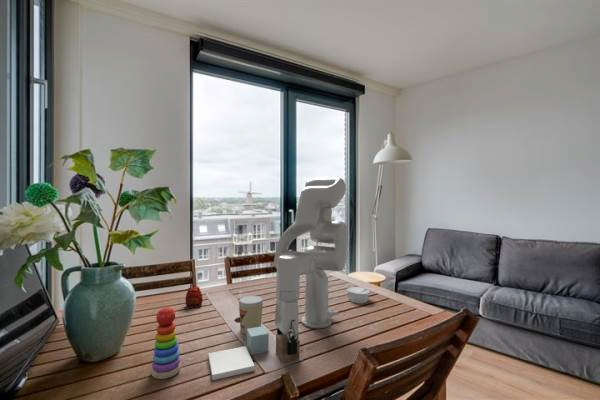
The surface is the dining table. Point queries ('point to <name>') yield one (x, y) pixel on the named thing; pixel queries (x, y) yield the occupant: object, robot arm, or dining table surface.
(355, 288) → the ramekin
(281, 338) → the walnut block
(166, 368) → the stacking toy
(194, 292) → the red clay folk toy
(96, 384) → the dining table surface
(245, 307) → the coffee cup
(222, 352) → the base board
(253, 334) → the teal block
